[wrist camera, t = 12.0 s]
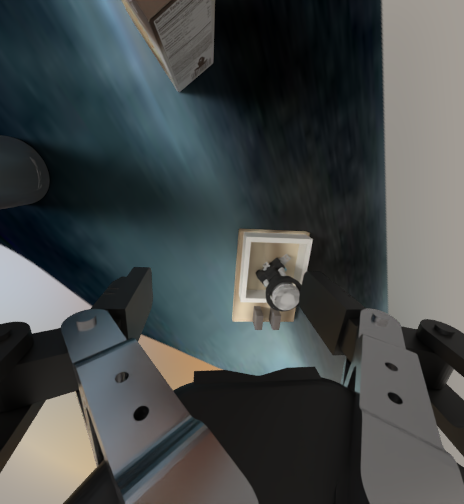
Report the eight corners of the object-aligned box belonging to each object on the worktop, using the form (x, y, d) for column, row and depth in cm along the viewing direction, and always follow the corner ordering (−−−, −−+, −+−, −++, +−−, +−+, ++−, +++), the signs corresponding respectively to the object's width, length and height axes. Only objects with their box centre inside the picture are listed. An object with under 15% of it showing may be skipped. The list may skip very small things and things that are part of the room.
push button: (278, 243, 38) (299, 267, 29) (295, 264, 40) (321, 293, 30) (248, 268, 39) (259, 298, 30) (266, 287, 41) (283, 322, 31)
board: (232, 317, 44) (234, 332, 40) (238, 228, 38) (241, 235, 34) (291, 317, 45) (298, 331, 41) (306, 231, 39) (317, 238, 35)
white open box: (238, 293, 41) (240, 302, 38) (243, 231, 37) (246, 236, 34) (294, 294, 42) (300, 302, 39) (305, 234, 38) (312, 239, 35)
